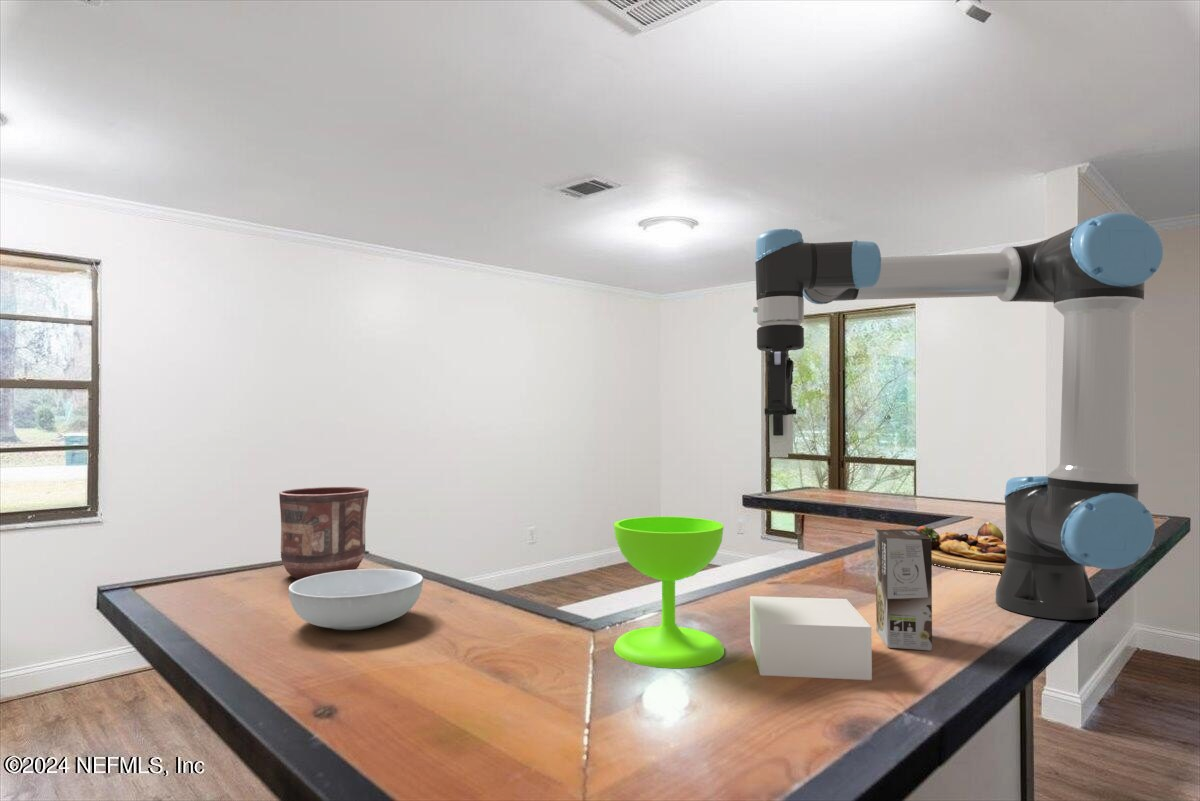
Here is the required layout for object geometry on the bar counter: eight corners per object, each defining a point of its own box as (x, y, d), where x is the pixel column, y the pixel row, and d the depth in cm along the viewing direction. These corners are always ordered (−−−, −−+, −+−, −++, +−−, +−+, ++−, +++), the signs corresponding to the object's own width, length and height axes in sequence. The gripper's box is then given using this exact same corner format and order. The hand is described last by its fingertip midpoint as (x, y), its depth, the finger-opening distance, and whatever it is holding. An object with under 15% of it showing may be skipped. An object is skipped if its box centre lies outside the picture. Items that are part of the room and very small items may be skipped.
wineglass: (650, 676, 91) (650, 536, 91) (594, 641, 105) (594, 520, 106) (747, 656, 98) (747, 527, 99) (683, 626, 113) (682, 513, 113)
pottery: (349, 584, 140) (350, 494, 141) (262, 584, 141) (264, 494, 141) (378, 566, 158) (379, 486, 159) (301, 566, 158) (302, 486, 159)
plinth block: (846, 646, 104) (846, 598, 104) (871, 682, 90) (871, 627, 90) (750, 643, 105) (750, 596, 105) (760, 677, 91) (759, 623, 92)
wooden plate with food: (892, 564, 162) (892, 528, 162) (931, 543, 186) (931, 512, 186) (1056, 589, 141) (1056, 548, 141) (1076, 562, 166) (1076, 527, 166)
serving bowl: (448, 613, 120) (448, 573, 120) (359, 651, 101) (359, 602, 101) (356, 600, 129) (356, 562, 129) (257, 632, 110) (258, 588, 110)
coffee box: (934, 651, 100) (933, 538, 101) (886, 648, 102) (885, 537, 102) (918, 632, 109) (917, 528, 110) (875, 629, 111) (874, 527, 111)
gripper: (763, 334, 128) (765, 450, 128) (748, 317, 105) (750, 459, 104) (806, 333, 126) (808, 451, 126) (800, 314, 102) (802, 459, 102)
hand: (782, 455), depth 115 cm, fingers open, 13 cm apart
